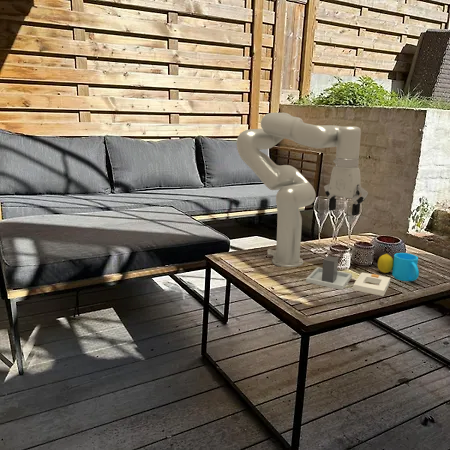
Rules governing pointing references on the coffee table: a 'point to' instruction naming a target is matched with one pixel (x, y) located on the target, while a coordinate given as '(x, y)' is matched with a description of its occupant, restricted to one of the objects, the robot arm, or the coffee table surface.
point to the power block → (369, 288)
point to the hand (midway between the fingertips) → (343, 212)
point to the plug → (330, 269)
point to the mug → (405, 267)
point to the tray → (337, 284)
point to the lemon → (385, 263)
